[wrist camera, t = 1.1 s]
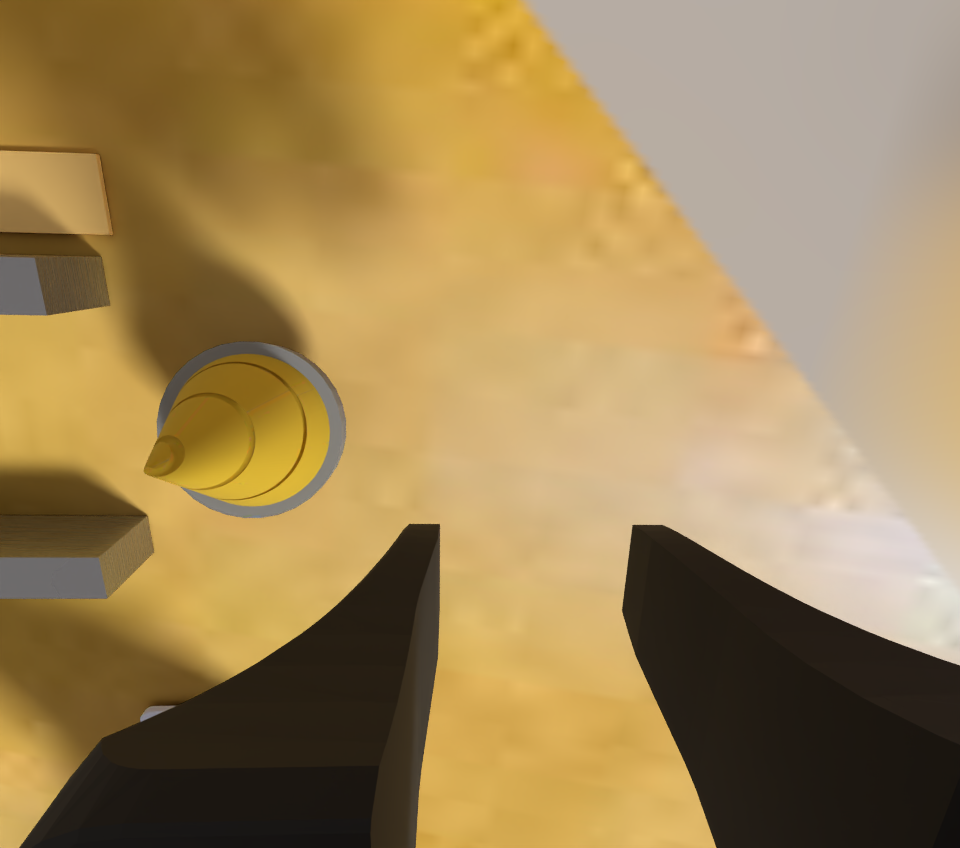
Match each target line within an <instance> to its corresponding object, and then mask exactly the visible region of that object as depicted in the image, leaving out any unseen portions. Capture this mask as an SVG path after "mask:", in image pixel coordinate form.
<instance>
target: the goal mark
mask: <svg viewBox="0 0 960 848" xmlns="http://www.w3.org/2000/svg"><path fill="white" fill-rule="evenodd" d="M0 232H22V233H58V234H94V235H113V232H112V226H111V220H110V214H109V208H108V202H107V196H106V190H105V184H104V179H103V173H102V167H101V161H100V155H98V154H88V153H58V152H29V151H0Z"/></svg>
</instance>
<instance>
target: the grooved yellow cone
mask: <svg viewBox="0 0 960 848" xmlns="http://www.w3.org/2000/svg"><path fill="white" fill-rule="evenodd" d="M157 437H158V439H157V441H156V443H155V445H154V447H153V450H152V452H151V454H150V456H149V458H148V460H147V463H146V465H145V468H144V472H145V474H147V475H149V476H152V477H155V478H157V479H160V480H163V481H166V482H169V483H172V484H175V485H178V486H180V487H181V488H182V489H183V490H185V491H186V492H187V493H188V494H189V495H190V496H191V497H192V498H193V499H195V500H196V501H198V502H200V503H201V504H203V505H205V506H206V507H208V508H210V509H213V510H215V511H218V512H221V513H223V514H226V515H231V516H236V517H242V518H263V517H268V516H273V515H278V514H281V513H284V512H286V511H289V510H291V509H294V508H296V507H297V506H299V505H301V504H302V503H304V502H305V501H307V500H308V499H310V498H311V497H312V496H313V495H314V494H315V493H316V492H317V491H318V490H319V489H320V488H321V487H322V486H323V485H324V484H325V483H326V481H327V480H328V479H329V477H330V476H331V474H332V473H333V471H334V470H335V469H336V467H337V465H338V462H339V460H340V458H341V455H342V453H343V449H344V444H345V439H346V419H345V414H344V409H343V404H342V402H341V400H340V397H339V395H338V393H337V390H336V388H335V387H334V385H333V384H332V383H331V381H330V380H329V378H328V377H327V375H326V374H325V373H324V372H323V371H322V370H321V369H320V368H319V367H318V366H317V365H316V364H315V363H313V362H312V361H310V360H309V359H307V358H306V357H304V356H303V355H301V354H299V353H297V352H295V351H292V350H290V349H288V348H285V347H282V346H277V345H273V344H268V343H262V342H234V343H228V344H222V345H219V346H217V347H214V348H211V349H209V350H206V351H204V352H202V353H201V354H199V355H198V356H196V357H194V358H193V359H191V360H190V361H188V362H187V363H186V364H185V365H184V366H183V367H182V368H181V369H180V370H179V371H178V372H177V373H176V374H175V376H174V377H173V379H172V380H171V382H170V383H169V385H168V386H167V388H166V390H165V393H164V395H163V398H162V400H161V403H160V406H159V412H158V418H157Z"/></svg>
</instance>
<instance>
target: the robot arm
mask: <svg viewBox="0 0 960 848" xmlns="http://www.w3.org/2000/svg"><path fill="white" fill-rule="evenodd" d="M439 611H440V524H409V525H408V526H407V527H406V528H405V529H404V530H403V531H402V533H401V534H400V535H399V537H398V538H397V539H396V541H395V542H394V543H393V545H392V546H391V547H390V549H389V550H388V551H387V552H386V554H385V555H384V556H383V557H382V558H381V559H380V561H379V562H378V563H377V564H376V565H375V566H374V567H373V569H372V570H371V571H370V572H369V573H368V574H367V575H366V577H365V578H364V579H363V580H362V581H361V582H360V583H359V584H358V585H357V586H356V587H355V588H354V589H353V590H352V591H351V592H350V593H349V594H348V595H347V596H346V597H345V598H344V599H343V600H342V601H341V602H339V603H338V604H337V605H336V606H335V607H334V608H333V609H332V610H331V611H329V612H328V613H327V614H326V615H325V616H324V617H322V618H321V619H320V620H319V621H317V622H316V623H315V624H314V625H312V626H311V627H310V628H308V629H307V630H306V631H304V632H303V633H302V634H300V635H299V636H297V637H296V638H294V639H293V640H291V641H290V642H288V643H287V644H285V645H284V646H282V647H281V648H279V649H278V650H276V651H275V652H273V653H272V654H270V655H269V656H267V657H266V658H264V659H263V660H261V661H260V662H258V663H256V664H255V665H253V666H251V667H250V668H248V669H246V670H244V671H243V672H241V673H239V674H237V675H236V676H234V677H232V678H230V679H229V680H227V681H225V682H223V683H221V684H219V685H217V686H215V687H213V688H212V689H210V690H208V691H206V692H204V693H202V694H200V695H198V696H196V697H194V698H192V699H190V700H188V701H186V702H184V703H182V704H180V705H177V706H151V707H148V708H147V709H146V710H145V711H144V713H143V714H142V716H141V717H140V722H139V723H137V724H135V725H132V726H130V727H128V728H126V729H124V730H121V731H119V732H116V733H114V734H111V735H109V736H107V737H104V738H102V740H101V741H100V742H99V743H98V744H97V746H96V747H95V748H94V749H93V750H92V752H91V753H90V754H89V755H88V757H87V758H86V759H85V760H84V761H83V763H82V764H81V765H80V766H79V767H78V769H77V770H76V771H75V772H74V774H73V775H72V776H71V777H70V779H69V780H68V781H67V783H66V784H65V786H64V787H63V788H62V790H61V791H60V793H59V794H58V795H57V797H56V798H55V799H54V801H53V802H52V804H51V805H50V806H49V808H48V809H47V811H46V812H45V813H44V815H43V816H42V817H41V819H40V820H39V822H38V823H37V824H36V826H35V827H34V828H33V830H32V831H31V833H30V834H29V835H28V837H27V838H26V839H25V841H24V842H23V844H22V845H21V846H20V848H415V847H416V831H417V814H418V797H419V786H420V777H421V768H422V761H423V754H424V747H425V741H426V734H427V727H428V720H429V714H430V707H431V700H432V694H433V687H434V680H435V673H436V666H437V659H438V639H439ZM622 612H623V616H624V619H625V622H626V626H627V629H628V633H629V636H630V639H631V642H632V646H633V649H634V652H635V655H636V657H637V660H638V662H639V664H640V666H641V669H642V671H643V673H644V675H645V677H646V680H647V682H648V684H649V686H650V688H651V691H652V693H653V695H654V697H655V699H656V701H657V704H658V706H659V708H660V710H661V712H662V714H663V716H664V719H665V721H666V723H667V725H668V727H669V729H670V732H671V734H672V736H673V738H674V740H675V742H676V744H677V747H678V749H679V751H680V753H681V755H682V757H683V760H684V762H685V764H686V766H687V769H688V771H689V774H690V776H691V778H692V781H693V783H694V786H695V788H696V791H697V793H698V796H699V799H700V802H701V805H702V808H703V810H704V813H705V816H706V819H707V822H708V825H709V827H710V830H711V833H712V836H713V839H714V842H715V845H716V847H717V848H960V665H957V664H953V663H950V662H947V661H944V660H942V659H939V658H936V657H933V656H930V655H928V654H925V653H922V652H920V651H917V650H914V649H911V648H909V647H906V646H903V645H901V644H898V643H895V642H892V641H890V640H887V639H885V638H882V637H880V636H877V635H875V634H872V633H870V632H867V631H865V630H863V629H860V628H858V627H856V626H853V625H851V624H849V623H847V622H844V621H842V620H840V619H838V618H835V617H833V616H831V615H829V614H826V613H824V612H822V611H820V610H818V609H815V608H813V607H811V606H809V605H807V604H805V603H803V602H801V601H799V600H797V599H795V598H793V597H791V596H789V595H788V594H786V593H784V592H782V591H780V590H778V589H776V588H774V587H772V586H770V585H768V584H767V583H765V582H763V581H761V580H759V579H757V578H756V577H754V576H752V575H750V574H748V573H747V572H745V571H743V570H741V569H740V568H738V567H736V566H735V565H733V564H731V563H729V562H728V561H726V560H724V559H723V558H721V557H719V556H717V555H716V554H714V553H712V552H711V551H709V550H707V549H706V548H704V547H702V546H701V545H699V544H697V543H696V542H694V541H692V540H690V539H689V538H687V537H685V536H683V535H682V534H680V533H678V532H676V531H674V530H672V529H670V528H668V527H666V526H663V525H633V527H632V535H631V543H630V551H629V559H628V567H627V575H626V583H625V591H624V599H623V607H622Z"/></svg>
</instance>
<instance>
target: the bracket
mask: <svg viewBox="0 0 960 848" xmlns="http://www.w3.org/2000/svg"><path fill="white" fill-rule="evenodd" d="M104 306H110V302H109V297H108V291H107V285H106V280H105V274H104V268H103V263H102V257H90V256H52V255H13V254H0V314H2V315H53V314H59V313H66V312H72V311H79V310H85V309H92V308H98V307H104ZM153 553H154V549H153V544H152V538H151V532H150V527H149V521H148V516H51V515H0V599H107V598H108V597H109V596H110V595H111V594H112V593H113V592H114V591H115V590H116V589H117V588H118V587H119V586H121V585H122V584H123V583H124V582H125V581H126V580H127V579H128V578H129V577H130V576H131V575H132V574H133V573H134V572H135V571H136V570H137V569H138V568H139V567H140V566H141V565H142V564H143V563H144V562H145V561H146V560H147V559H148V558H149V557H150V556H151V555H152V554H153Z"/></svg>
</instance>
